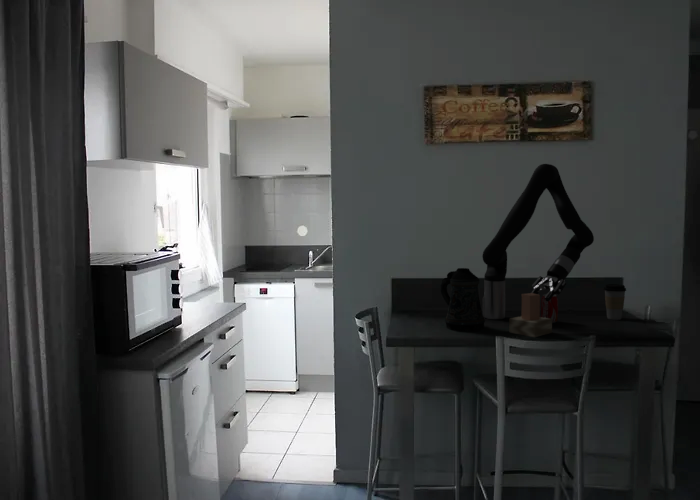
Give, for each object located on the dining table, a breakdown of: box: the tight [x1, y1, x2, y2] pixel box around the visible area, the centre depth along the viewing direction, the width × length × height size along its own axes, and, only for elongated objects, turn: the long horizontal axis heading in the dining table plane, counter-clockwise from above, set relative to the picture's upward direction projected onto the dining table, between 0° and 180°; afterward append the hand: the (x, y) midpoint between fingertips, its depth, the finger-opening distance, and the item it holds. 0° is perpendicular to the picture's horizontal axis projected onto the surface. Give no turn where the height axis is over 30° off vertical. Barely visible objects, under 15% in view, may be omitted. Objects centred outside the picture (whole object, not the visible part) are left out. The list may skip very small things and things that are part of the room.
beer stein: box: [439, 267, 486, 332], centre depth 264 cm, size 16×19×25 cm
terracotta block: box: [521, 292, 541, 320], centre depth 252 cm, size 5×5×10 cm
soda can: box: [540, 293, 559, 324], centre depth 273 cm, size 7×7×12 cm
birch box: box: [508, 315, 553, 338], centre depth 253 cm, size 12×12×6 cm
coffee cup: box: [603, 283, 627, 321], centre depth 280 cm, size 9×9×15 cm
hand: (538, 298), depth 254 cm, fingers open, 8 cm apart
